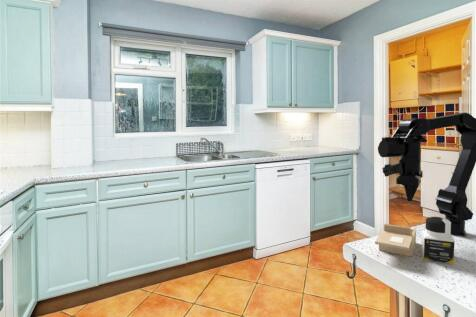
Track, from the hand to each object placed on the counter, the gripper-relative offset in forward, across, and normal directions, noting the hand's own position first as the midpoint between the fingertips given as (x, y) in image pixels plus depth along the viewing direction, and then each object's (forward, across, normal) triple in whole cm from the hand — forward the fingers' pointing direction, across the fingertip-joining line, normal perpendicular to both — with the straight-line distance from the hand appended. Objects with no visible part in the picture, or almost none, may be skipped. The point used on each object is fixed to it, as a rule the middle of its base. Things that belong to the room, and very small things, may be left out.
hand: (409, 201), depth 101 cm
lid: (+8, +19, -2) cm, 20 cm away
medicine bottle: (+13, +14, +8) cm, 21 cm away
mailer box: (+13, +12, -2) cm, 17 cm away
